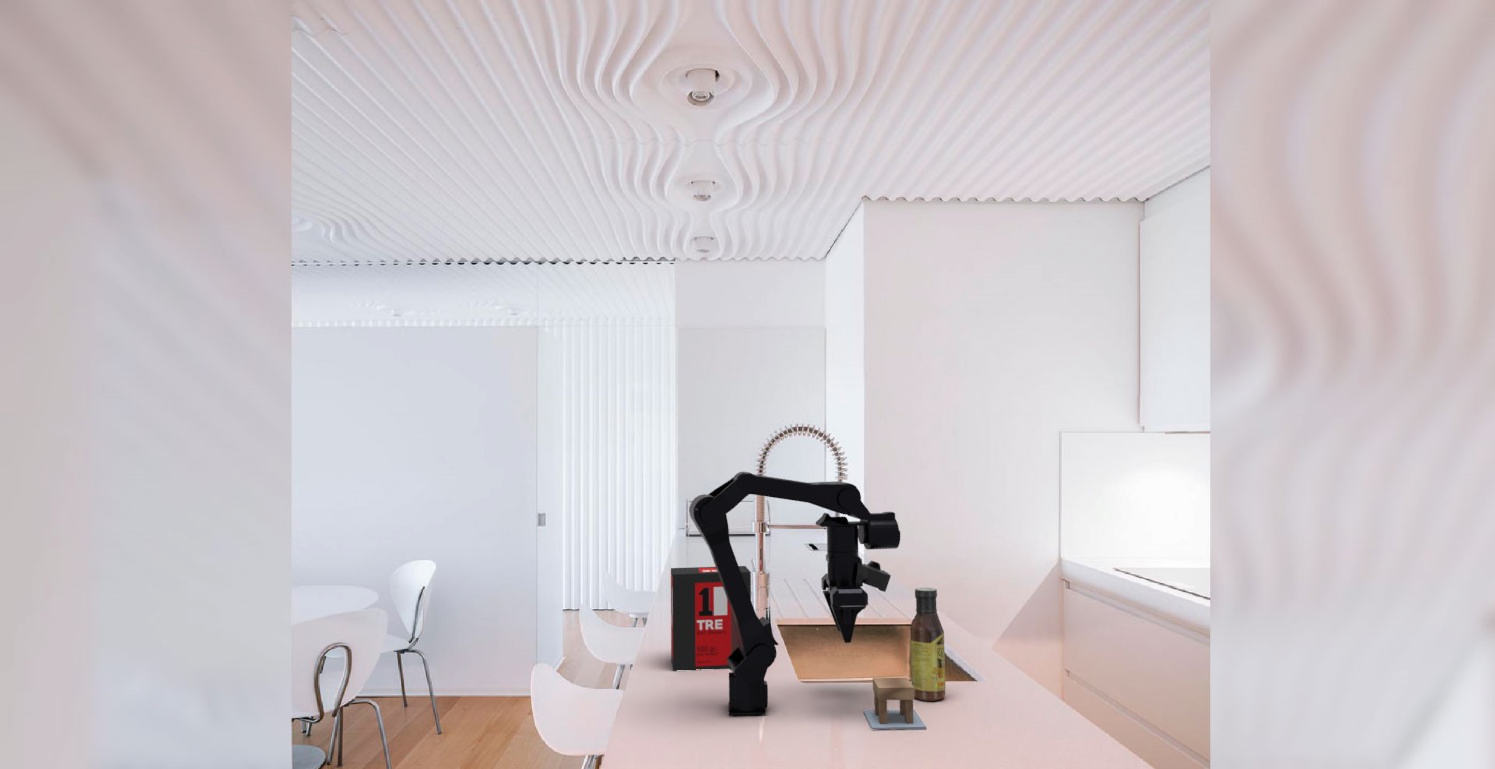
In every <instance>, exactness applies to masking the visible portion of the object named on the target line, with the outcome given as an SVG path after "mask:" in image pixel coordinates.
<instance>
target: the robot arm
mask: <svg viewBox="0 0 1495 769" xmlns="http://www.w3.org/2000/svg"><path fill="white" fill-rule="evenodd" d="M749 495H754V496H761V497H767V498H775V499H780V500H781V499H782V500H786V501H787V500H789V501H795V502H802V503H808V504H810V505H815V506H817V507H820V508H822V509H826V510H829V511H831V512H834V513H838V514H842V515H844V516H831V515H830V513H827V512H824V513H823V514H822V516H821V517H820V518H818V520H816V521H815V525H816V526H819V527H821V528H826V547H827V549H826V550H827V554H825V561H826V562H827V563H826V564H827V565H826V566H827V567H826V568H827V573H825V574H823V576H822V577H821V585H820V586H821V589H822V594H823V596H824V598H825V601H826V603H827V606H828V610H829V611H830V614H831V617H832V618H833V621H834V625H835V627H836V630H837V631H838V632H840V634H841V636H842V639H843V643H846V644H850V643H851V642H852V639H853V634H854V629H855V626H856V621H857V616H858V615H859V613H861V612H862V611H863V610H865V609H866V607H867V606H869V594H868V593H867V592H866V590H864V589H863V586H864V584H865V585H867V586H869V587H873V588H875V589H878V590H879V591H881V592H884V593H886V591H887V588H888V586H889V583H890V580H891V576H892V575H891V574H890V573H889V572H887V571H885V570H883V569H881V568H882V567H881V563H879V562H877V561H874V560H871V561H869V562H868V563H867V564H866V563H863V559H862V557H860V556H859V544H860V545H863V547H864V548H865V549H866V550H889V549H890V550H891V549H892V550H893V549H898V547H899V546H900V544H901V530H900V528H899V523H898V521H897V519H896V513H895V512H894V511H884V512H874V513H871V512H870V511H869V510H868V508H867V507H866V506H865V504H864V503H863V501H862V495H861V492H860V490H859V489H858V487H857V486H856V485H854V484H852V483H850V482H844V481H839V480H837V481H817V482H806V481H799V480H793V479H788V478H787V479H785V478H780V477H772V476H766V475H761V474H759V475H758V474H754V473H751V472H747V471H739V472H737V473H736V474H735V475H734V476H733V477H731V478H730V479H729V480H727V481H726V482H724V483H723V484H721V485H720V486H718V487H717V488H715V489H713V490H712V491H711V492H709V493H708V494H705V493H704V494H700V495H698V496H696V497H694V499H692V501H691V503H690V505H689V508H688V509H689V510H688V511H689V517H690V519H691V521H693V522H692V523H694V526H695V527H696V529H697V530H698V532H699V534H700V535H701V537H702V539H703V541H704V542H705V544H706V545H707V547H708V550H709V552H710V555H711V557H712V561H713V563H714V567H716V569H717V571H718V574H719V577H720V580H721V582H722V585H723V588H724V591H725V594H726V596H727V599H728V602H729V605H730V607H731V610H732V613H733V616H734V619H735V629H736V637H737V643H738V647H737V648H736V649H735V650H734V651H733V652H732V653H731V654H730V655H729V657H728V658H727V663H728V665H729V668H730V669H729V670H730V671H731V672H728V716H761V715H762V716H763V715H766V709H768V708H769V705H768V704H769V702H768V700H769V690H768V688H769V687H768V681H767V680H765V677H766V674H767V672H768V669H769V668H770V667H771V666H772V665H773V664H774V663H775V660H776V658H777V649H776V648H777V647H776V646H779V643H778V642H777V640H776V639H775V636H774V634H773V628H772V624H771V623H770V622H769V620H768V619H766V617H765V616H761V617H760V618H759V617H758V615H757V614H756V613H757V612H756V610H755V608H754V605H753V603H752V598H751V599H750V597H749V594H748V591H747V588H746V586H745V583H744V580H743V577H742V575H741V572H740V569H739V566H740V565H739V564H738V561H737V558H736V556H735V553H734V550H733V547H732V544H731V542H730V541H731V540H730V533H729V532H730V529H729V523H728V516H727V514H728V513H730V512H731V511H732V510H733V509H734V508H736V507H737V506H738V505H739V503H741V502H742V501H743V500H745V498H746V497H748V496H749ZM846 515H847V516H848V517H851V518H854V519H858V521H857V520H856V521H855V520H854V521H849V520H848V517H847V516H846Z"/></svg>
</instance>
